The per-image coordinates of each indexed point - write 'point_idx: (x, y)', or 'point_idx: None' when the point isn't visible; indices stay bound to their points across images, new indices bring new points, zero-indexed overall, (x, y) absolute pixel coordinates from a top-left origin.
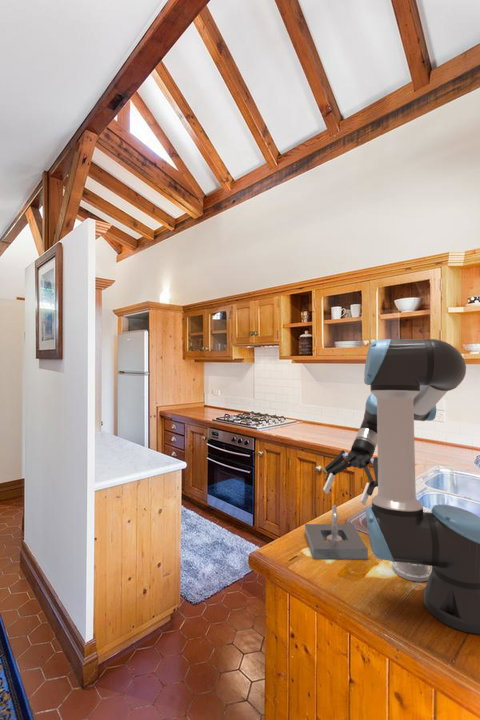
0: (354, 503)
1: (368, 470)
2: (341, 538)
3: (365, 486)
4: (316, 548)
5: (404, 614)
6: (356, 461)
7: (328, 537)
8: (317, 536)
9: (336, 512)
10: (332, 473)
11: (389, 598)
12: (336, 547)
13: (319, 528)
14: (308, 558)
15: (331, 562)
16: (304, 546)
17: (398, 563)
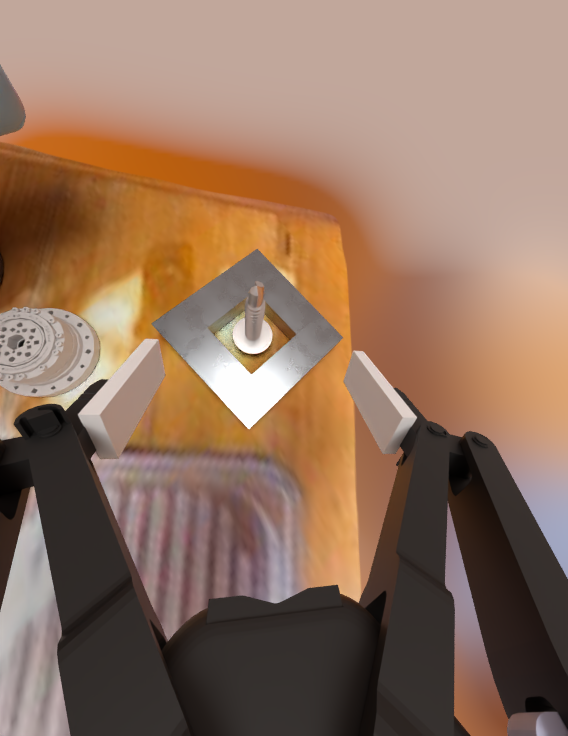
0: None
1: (49, 552)
2: (239, 347)
3: (118, 390)
4: (253, 253)
5: (34, 208)
6: (275, 680)
7: (264, 324)
8: (282, 301)
9: (248, 302)
10: (412, 446)
11: (73, 233)
12: (219, 284)
13: (302, 341)
14: None
15: None
16: None
17: (65, 323)
